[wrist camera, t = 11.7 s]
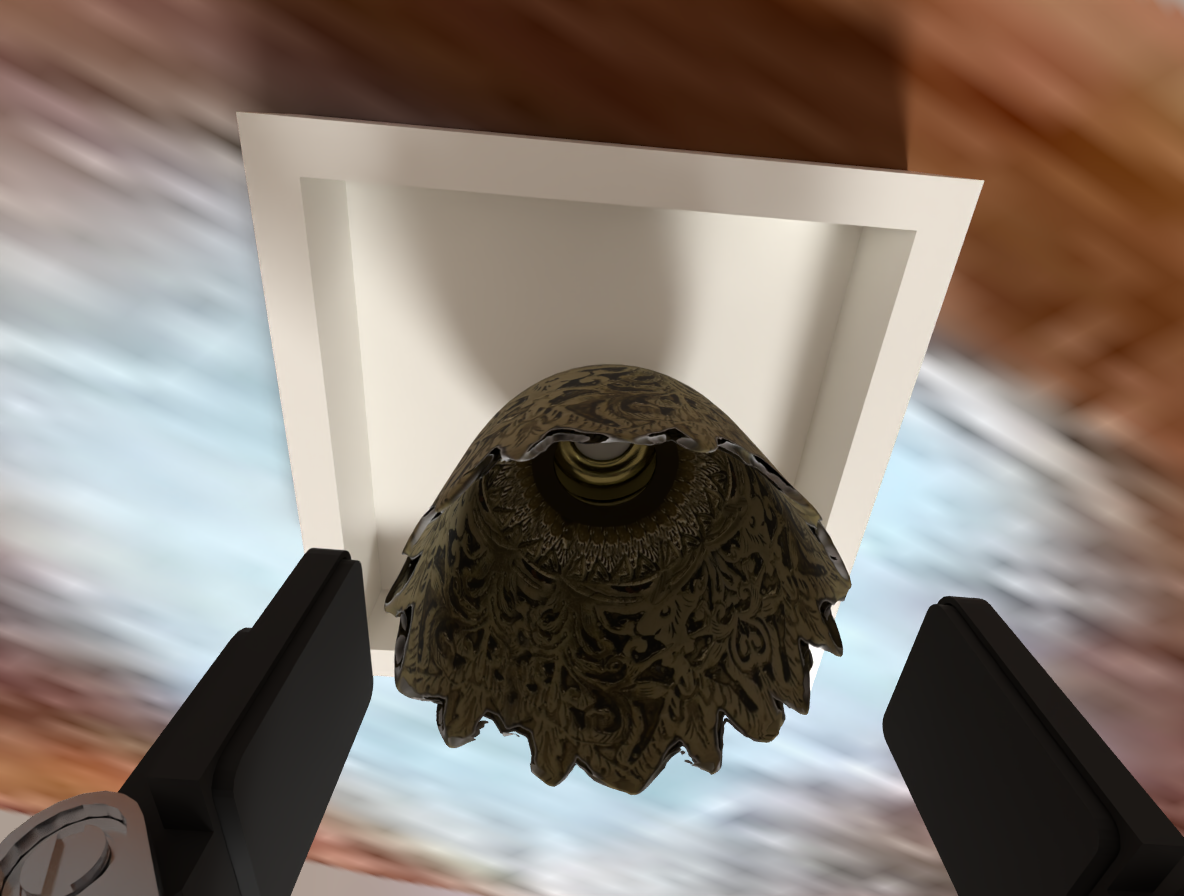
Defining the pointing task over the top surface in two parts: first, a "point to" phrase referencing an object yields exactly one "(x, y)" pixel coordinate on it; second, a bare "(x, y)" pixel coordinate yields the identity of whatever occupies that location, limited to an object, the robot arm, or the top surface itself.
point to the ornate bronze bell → (615, 582)
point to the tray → (578, 306)
